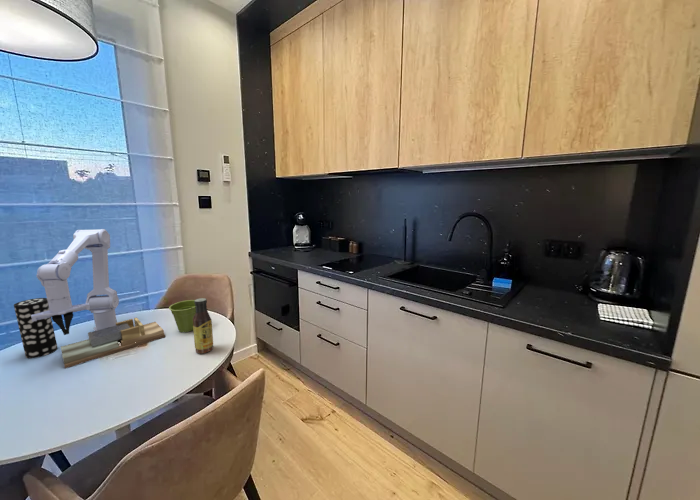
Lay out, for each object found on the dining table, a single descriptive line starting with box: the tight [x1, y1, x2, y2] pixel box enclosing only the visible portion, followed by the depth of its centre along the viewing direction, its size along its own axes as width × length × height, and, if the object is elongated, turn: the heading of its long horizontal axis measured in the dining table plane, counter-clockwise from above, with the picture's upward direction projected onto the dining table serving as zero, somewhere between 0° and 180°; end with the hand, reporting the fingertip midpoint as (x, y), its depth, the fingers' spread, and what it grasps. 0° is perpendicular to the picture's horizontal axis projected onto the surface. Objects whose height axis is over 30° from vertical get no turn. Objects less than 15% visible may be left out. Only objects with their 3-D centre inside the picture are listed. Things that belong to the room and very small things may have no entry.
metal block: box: [87, 323, 130, 347], centre depth 113 cm, size 8×12×3 cm, turn 137°
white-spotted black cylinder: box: [13, 297, 58, 359], centre depth 108 cm, size 8×8×20 cm
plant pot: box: [168, 299, 196, 333], centre depth 127 cm, size 12×12×11 cm
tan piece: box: [60, 317, 166, 369], centre depth 114 cm, size 14×30×7 cm, turn 137°
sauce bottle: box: [192, 297, 214, 354], centre depth 108 cm, size 6×6×20 cm
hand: (66, 333), depth 104 cm, fingers closed
